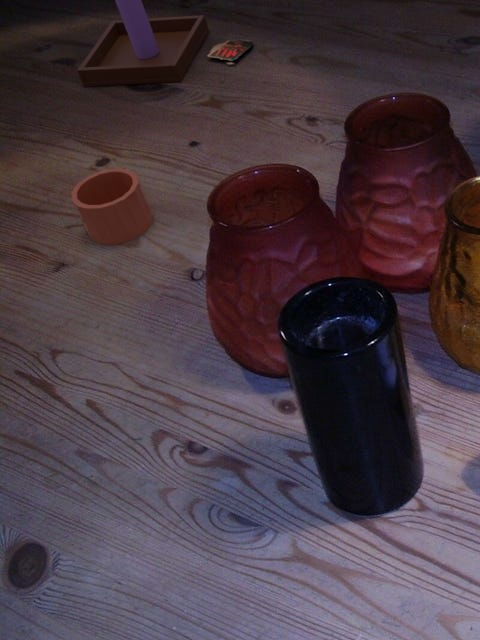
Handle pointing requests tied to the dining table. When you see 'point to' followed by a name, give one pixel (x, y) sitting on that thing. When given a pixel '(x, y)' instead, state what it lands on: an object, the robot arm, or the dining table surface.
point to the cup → (112, 206)
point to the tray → (125, 68)
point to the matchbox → (230, 49)
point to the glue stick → (138, 28)
